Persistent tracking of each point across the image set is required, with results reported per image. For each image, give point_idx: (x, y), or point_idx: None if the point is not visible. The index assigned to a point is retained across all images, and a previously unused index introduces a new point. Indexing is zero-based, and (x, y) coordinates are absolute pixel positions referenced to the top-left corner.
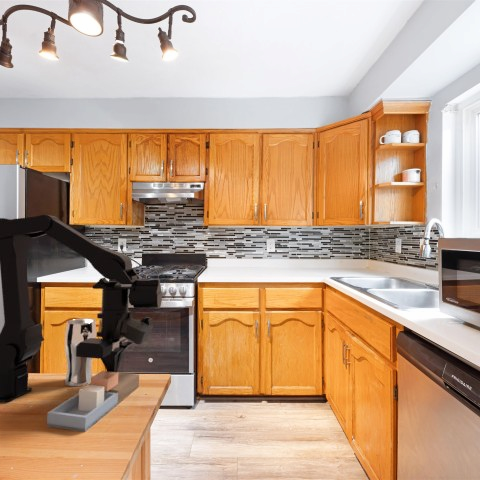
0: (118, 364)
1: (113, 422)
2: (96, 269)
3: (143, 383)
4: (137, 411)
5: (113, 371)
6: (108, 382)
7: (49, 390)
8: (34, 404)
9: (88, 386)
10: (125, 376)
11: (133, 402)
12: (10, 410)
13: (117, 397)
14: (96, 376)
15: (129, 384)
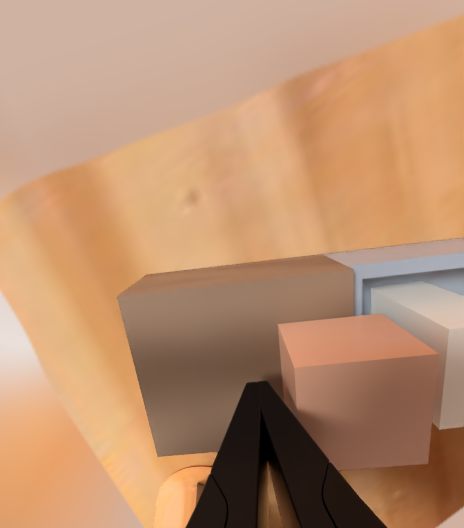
0: (243, 442)
1: (457, 172)
2: None
3: (105, 277)
4: (353, 130)
5: (287, 409)
6: (407, 339)
7: None
8: (386, 494)
9: (460, 409)
10: (177, 348)
11: (283, 202)
12: (431, 518)
13: (339, 260)
14: (404, 448)
15: (230, 278)
